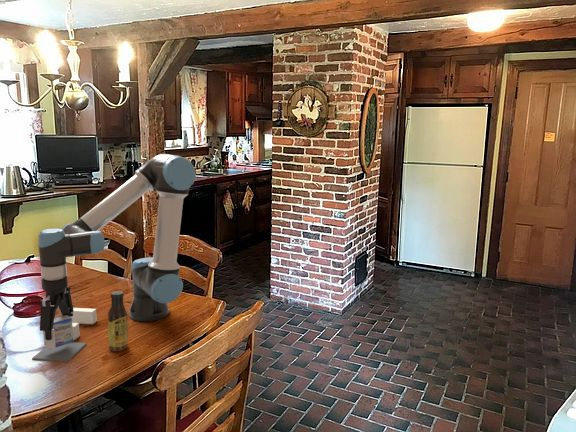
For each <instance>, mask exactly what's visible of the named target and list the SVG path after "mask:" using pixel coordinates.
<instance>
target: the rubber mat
mask: <svg viewBox="0 0 576 432" xmlns="http://www.w3.org/2000/svg"><path fill="white" fill-rule="evenodd" d="M86 345H87V342H76V341H73V342H71V343H68V344H65V345H62V346H59V347H56V348H55V349H49V348H46V346H45V347H44V348H43V349H41V350H40V351H39V352H38V353H36V354H35V355H34V356H33V357H32V358H31V360H32V361H44V362H45V361H46V362H47V361H48V362H49V361H50V362H64V363H68V362H70V361H71V360H72V359H73V358H74V357H75V356H76V355H77V354H79V352H80V351H82V350H83V348H85V347H86Z"/></svg>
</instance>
